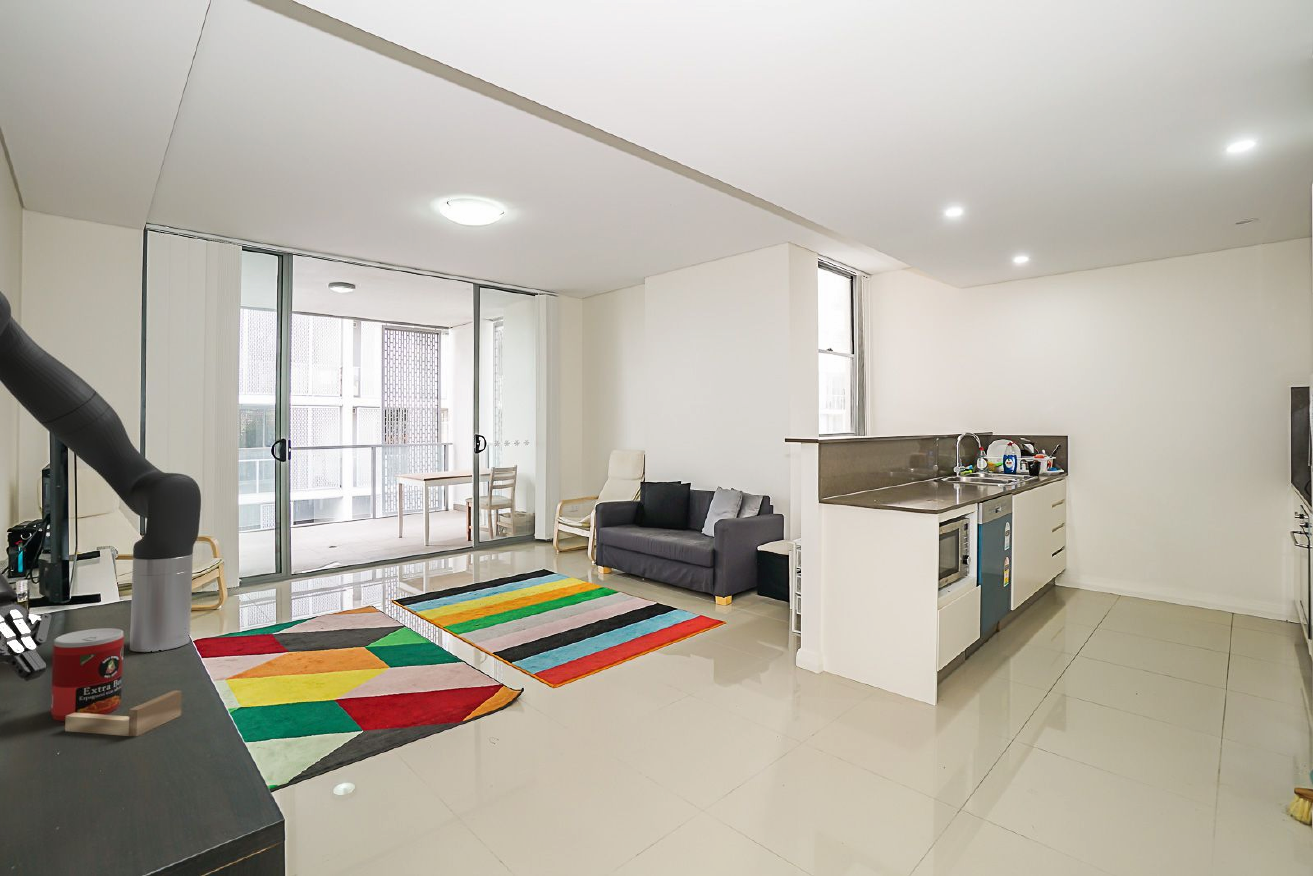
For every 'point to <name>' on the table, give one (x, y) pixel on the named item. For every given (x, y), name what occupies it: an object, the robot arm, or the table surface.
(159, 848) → the table surface
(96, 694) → the canned food
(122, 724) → the bar
